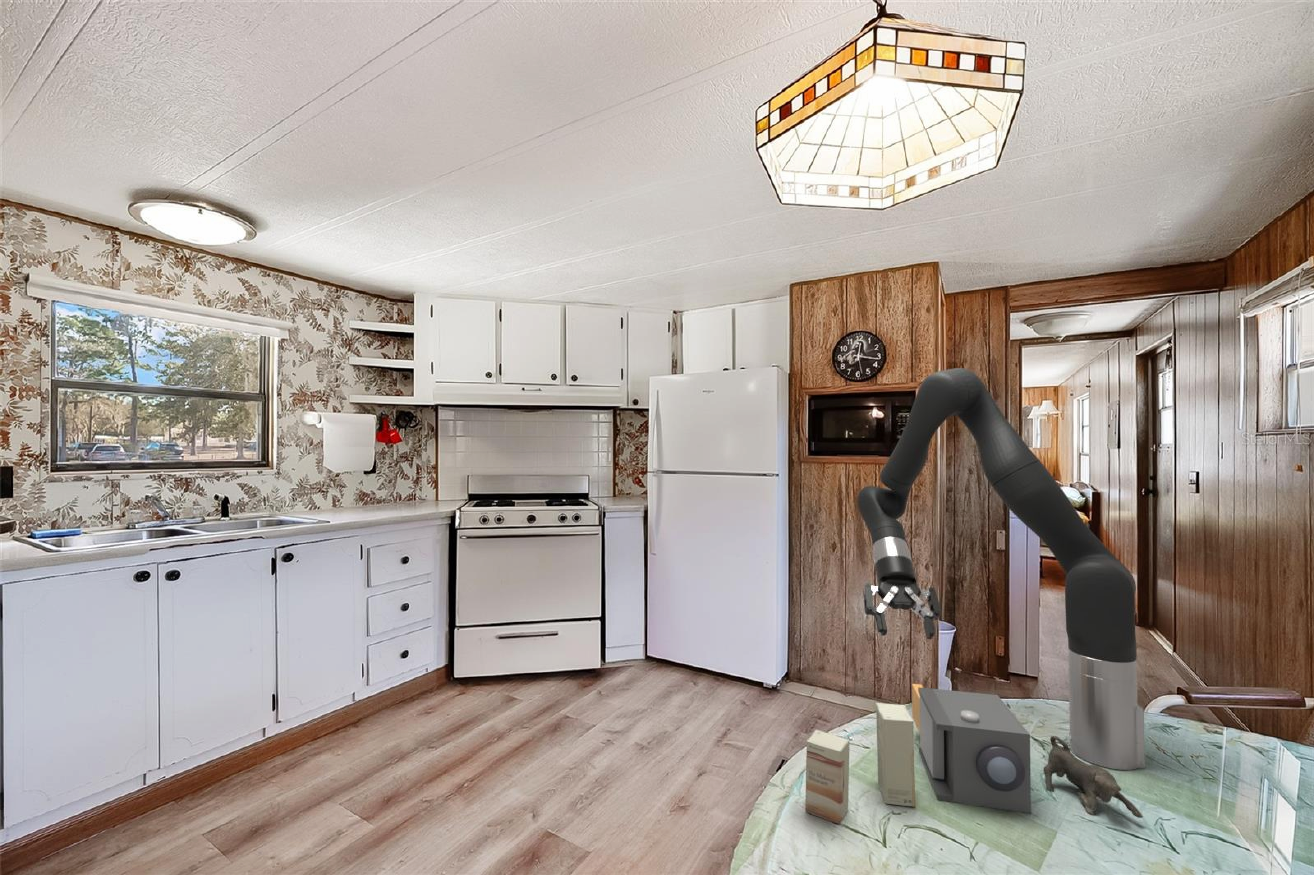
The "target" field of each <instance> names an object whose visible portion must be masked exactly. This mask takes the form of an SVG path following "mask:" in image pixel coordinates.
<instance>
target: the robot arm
mask: <svg viewBox="0 0 1314 875" xmlns="http://www.w3.org/2000/svg"><path fill="white" fill-rule="evenodd" d="M955 415H956V417H958V418H959V420H961V422H962V423H963V425H964V426H965V427H966V428H967V429H968V431H969V432H970V434H971V435H972V436H973V439H974V441H975V442H976V445H977V449H978V453H979V456H980V457H979V458H980V462H981V466H982V469H983V470H982V471H983V473H984V475H985V477H986V479H987V481H988V483H989V484H990V486H991V487H992V488H993V490H994V491H995V493H996V494H997V495H998V497H999V498H1000V499H1001V501H1002V502H1003V503H1004V504H1005V506H1006V507H1007V508H1008V509H1009V510H1010V511H1011V512H1012V513H1013V514H1014V516H1015V517H1017V519H1018V520H1020V521H1021V522H1022V523H1023V524H1024V525H1025V526H1026V527H1027V528H1028V529H1030V530H1031V531H1032V532H1033V533H1034V535H1036V536H1037V537H1038V538H1039V539H1040V540H1041V541H1042V542H1043V544H1045V545H1046V546H1047V549H1049V550H1050V552H1051V553H1052V554H1053V556H1054V557H1055V559H1056V560H1057V563H1058V564H1059V565H1060V567H1061V568H1062V570H1063V572H1064V574H1065V575H1066V577H1065V584H1064V604H1065V605H1064V606H1065V608H1064V609H1065V630H1066V634H1067V643H1068V644H1067V645H1068V650H1067V651H1068V656H1067V657H1068V706H1069V707H1068V710H1069V711H1068V713H1069V716H1068V717H1069V718H1068V719H1069V721H1068V722H1069V734H1068V735H1069V736H1068V737H1069V748H1070V751H1071V753H1072V754H1073V753H1074V755H1076V756H1077V757H1079V758H1081V759H1082V760H1085V761H1086V762H1089V763H1092V764H1093V765H1097V766H1100V767H1103V768H1109V769H1113V770H1121V771H1129V770H1131V771H1132V770H1135V769H1146V748H1145V747H1146V746H1145V711H1144V708H1143V707H1141V705H1139V704H1138V673H1137V672H1138V671H1137V670H1138V669H1137V668H1138V667H1137V666H1138V665H1137V661H1138V660H1137V653H1138V652H1137V637H1136V635H1137V634H1136V604H1135V603H1136V601H1135V600H1136V598H1135V597H1136V591H1137V590H1136V588H1137V585H1136V580H1135V578H1134V576H1133V574H1132V573H1131V571H1130V570H1129V569H1128V568H1127V566H1126V565H1125V564H1123V563H1122V562H1121V561H1120V560H1119V559H1118V558H1117V557H1116V556H1115V555H1114V553H1112V551H1110V550H1109V549H1108V547H1106V545H1105V544H1104V543H1103V542H1102V541H1101V540H1100V539H1099V538H1098V537H1097V536H1096V535H1095V534H1094V532H1093V531H1092V530H1091V529H1090V528H1089V527H1088V525H1087V524H1086V523H1085V522H1084V521H1083V518H1082V517H1081V515H1080V514H1079V513H1078V512H1077V510H1076V508H1075V506H1074V505H1073V503H1072V502H1071V500H1070V499H1069V498H1068V496H1067V495H1066V493H1065V492H1064V490H1063V488H1062V487H1061V486H1060V484H1059V483H1058V482H1057V481H1056V479H1055V477H1053V475H1052V473H1050V471H1049V470H1048V469H1047V468H1046V466H1045V465H1044V464H1043V463H1042V461H1041V460H1040V459H1039V458H1038V457H1037V456H1036V455H1035V453H1034V452H1033V450H1031V449H1030V447H1029V446H1028V445H1027V443H1026V442H1025V441H1024V439H1023V438H1022V437H1021V436H1020V435H1019V433H1018V432H1017V430H1016V429H1015V428H1014V427H1013V426H1012V424H1011V423H1010V422H1009V421H1008V420H1007V418H1006V416H1005V415H1004V414H1003V412H1002V410H1001V409H1000V407H999V406H998V404H997V403H996V401H995V399H994V397H993V396H992V395H991V393H990V391H989V390H988V388H987V387H986V386H985V384H984V382H983V381H982V380H981V378H980V377H979V376H978V375H977V374H976V373H975V372H973V371H971V370H969V369H967V368H964V367H955V368H950V369H949V368H948V369H944V370H939V371H936V372H932V373H930V374H929V375H928V376H926V378H924V379H923V381H922V383H921V384H920V386H919V388H918V391H917V394H916V396H915V398H914V401H913V405H912V407H911V410H910V413H909V416H908V418H907V421H906V423H905V426H904V429H903V430H902V433H901V435H900V438H899V440H898V441H897V444H896V446H895V448H894V450H893V451H892V453H891V454H890V456H889V458H888V460H887V461H886V463H885V465H884V466H883V468H882V470H881V472H880V477H879V478H880V481H881V483H882V484H883V485H884V486H885V488H884V487H879V486H876V485H867V486H864V487H863V488H861V489H860V491H859V493H858V494H857V495H858V496H857V501H856V502H857V508H858V510H859V513H860V516H861V518H862V519H863V522H864V523H865V525H866V527H867V529H868V531H869V533H870V538H871V544H872V554H873V555H872V556H873V564H874V568H875V573H876V580H877V586H875V585H872V584H871V583H869V582H867V583H865V584H864V587H863V590H862V595H863V596H862V597H863V606H864V608H863V610H864V613H865V615H867V616H873V617H874V618H875V624H876V629H877V630H876V631H877V632H878V633H880V636H886V635H887V633H888V626H887V621H886V616H885V615H886V614H885V612H886V611H887V610H888V608H889V607H890V608H892V610H898V609H900V610H905V611H909V610H911V612H913V613H914V614H915V615H918V616H919V617H920V618H921V620H923V623H922V624H923V628H924V633H925V637H926V640H932V639H933V637H934V636H935V635H936V632H937V631H936V626H935V622H934V620H935V621H937V620H939V619H940V617H941V615H942V613H943V611H942V608H941V604H940V602H939V598H938V595H937V591H936V589H935V587H932V586H930V587H928V589H921V588H920V587H919V585H918V583H917V578H916V574H915V569H914V564H913V559H912V556H911V552H910V549H909V546H908V544H907V538H906V535H905V529H904V527H903V524H902V523H901V522H900V521H899V520H898V519H901V517H903V516H904V514H905V512H906V508H907V505H908V501H909V500H908V499H909V496H910V492H911V489H912V487H913V485H914V483H915V481H916V480H917V478H918V476H919V475H920V474H921V472H922V470H923V469H924V467H925V464H926V462H927V459H928V457H929V456H928V455H929V448H930V444H931V441H932V438H934V435H935V434H936V432H937V430H938V429H939V428H940V427H941V426H942V425H943V423H944V422H945V421H946V420H947V419H948V418H949V417H952V416H955ZM875 594H877V595H878V596H879V597H880V598H881V599H882V601H881V602H880V604H879V606H877V607H876V606H874V601H873V600H874V599H873V597H875ZM920 597H923V599H924V601H926V602H927V605H928V607H927V606H926V604H925V602H924V601H923V600H922V599H921V598H920Z"/></svg>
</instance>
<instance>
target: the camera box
mask: <svg viewBox="0 0 1314 875" xmlns="http://www.w3.org/2000/svg"><path fill="white" fill-rule="evenodd" d="M918 692H919V694H920V696H921V698H922V700H923V702H924V705H925V707H926V709H927V711H928V713H929V715H930V717H931V719H932V721H933V723H934V725H935V727H936V729H937V730H944V779H938V778H933V777H932V775H931V772H930V770H929V767H928V765H927V762H926V760H925V757H924V755H923V752H922V750H921V747H918V754H919V756H920V760H921V761H922V764H923V767H924V769H925V773H926V774H927V777H928V779H929V783H930V785H931V787H932V790H933V792H934V796H935V797H936V800H937V801H942V802H943V801H944V802H950V803H955V804H956V803H957V804H963V805H970V806H977V807H985V808H991V809H997V810H998V809H999V810H1005V811H1012V812H1013V811H1014V812H1020V813H1025V814H1032V794H1031V793H1032V792H1031V790H1032V788H1031V785H1032V784H1031V783H1032V782H1031V779H1032V778H1031V734H1030V732H1028V730H1027V729H1026V728H1025V727H1024V725H1023V723H1021V722H1020V721H1019V719H1018V718H1017V717H1016V716H1015V715H1014V713H1013V711H1011V709H1010V708H1009V707H1008V705H1007V704H1006V703H1005V702H1004V701H1003V699H1002V698H1001V697H1000V696H999V695H998V694H990V693H980V692H969V691H960V690H959V691H958V690H950V689H949V690H948V689H938V688H931V687H930V688H929V687H928V688H927V687H923V688H920V687H918Z"/></svg>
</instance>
